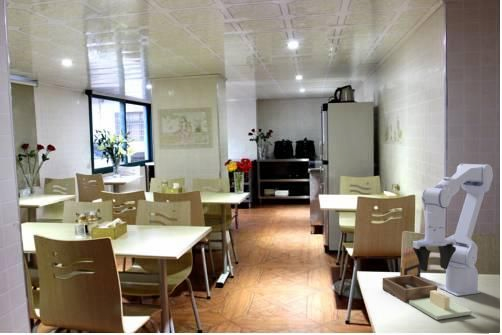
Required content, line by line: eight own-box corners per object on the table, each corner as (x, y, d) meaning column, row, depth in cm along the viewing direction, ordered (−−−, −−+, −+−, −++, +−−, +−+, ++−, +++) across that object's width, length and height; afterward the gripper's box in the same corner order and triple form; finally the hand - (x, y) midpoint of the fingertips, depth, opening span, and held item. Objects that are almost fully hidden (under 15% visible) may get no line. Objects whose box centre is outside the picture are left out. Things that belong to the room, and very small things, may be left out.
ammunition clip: (404, 283, 146) (405, 249, 145) (399, 281, 147) (400, 248, 147) (420, 276, 153) (421, 245, 152) (416, 275, 154) (416, 244, 153)
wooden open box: (412, 285, 143) (412, 274, 143) (436, 298, 132) (437, 285, 131) (382, 289, 140) (382, 278, 139) (405, 302, 128) (405, 290, 128)
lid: (441, 301, 130) (441, 285, 130) (471, 317, 118) (471, 299, 118) (409, 306, 127) (409, 289, 126) (436, 322, 115) (437, 304, 115)
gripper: (424, 230, 121) (423, 275, 122) (464, 227, 126) (462, 271, 126) (408, 225, 128) (407, 268, 129) (446, 223, 132) (445, 264, 133)
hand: (433, 269), depth 128 cm, fingers open, 7 cm apart
